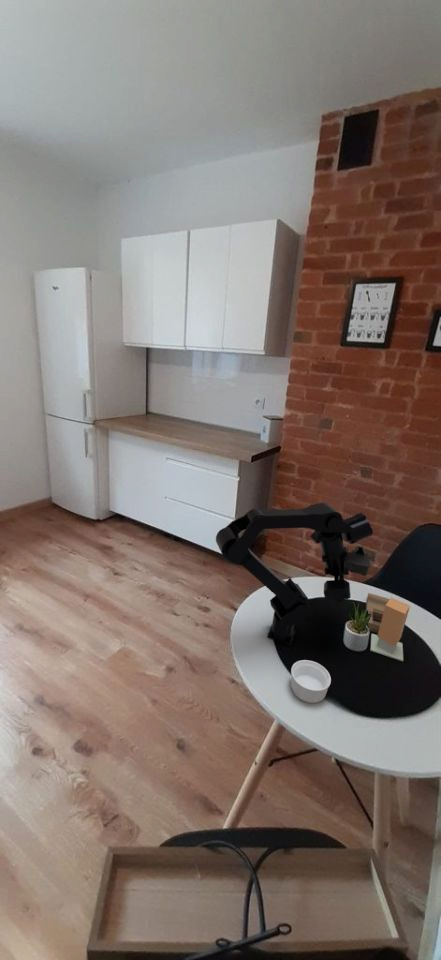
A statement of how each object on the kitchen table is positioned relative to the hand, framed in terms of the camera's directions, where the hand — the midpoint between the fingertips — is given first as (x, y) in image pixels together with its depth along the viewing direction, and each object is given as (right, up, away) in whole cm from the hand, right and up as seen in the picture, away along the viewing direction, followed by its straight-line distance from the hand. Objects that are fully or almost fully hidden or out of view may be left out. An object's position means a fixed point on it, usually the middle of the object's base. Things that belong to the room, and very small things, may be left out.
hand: (342, 596), depth 106 cm
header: (+15, -10, +11) cm, 21 cm away
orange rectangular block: (+12, -13, -2) cm, 17 cm away
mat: (+12, -13, -1) cm, 18 cm away
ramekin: (-13, -17, -17) cm, 27 cm away
